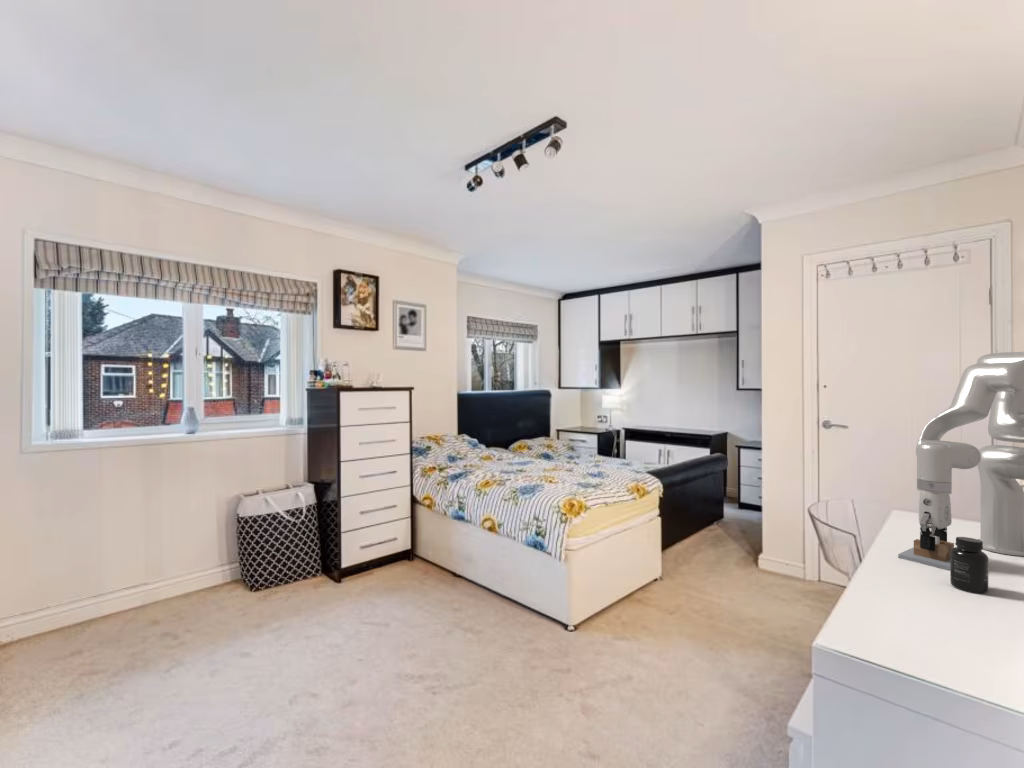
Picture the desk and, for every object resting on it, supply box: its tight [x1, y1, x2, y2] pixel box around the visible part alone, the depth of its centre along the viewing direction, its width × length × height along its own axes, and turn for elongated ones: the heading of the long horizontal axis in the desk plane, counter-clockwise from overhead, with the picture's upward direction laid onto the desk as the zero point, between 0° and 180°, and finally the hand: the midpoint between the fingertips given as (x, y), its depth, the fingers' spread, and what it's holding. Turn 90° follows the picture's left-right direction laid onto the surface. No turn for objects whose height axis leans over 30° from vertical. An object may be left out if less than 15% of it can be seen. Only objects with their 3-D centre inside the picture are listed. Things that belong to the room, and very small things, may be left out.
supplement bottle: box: [949, 536, 989, 594], centre depth 119 cm, size 7×7×12 cm
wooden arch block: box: [913, 538, 955, 562], centre depth 139 cm, size 7×7×4 cm
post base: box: [897, 536, 950, 571], centre depth 138 cm, size 14×12×6 cm
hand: (933, 546), depth 138 cm, fingers open, 8 cm apart
